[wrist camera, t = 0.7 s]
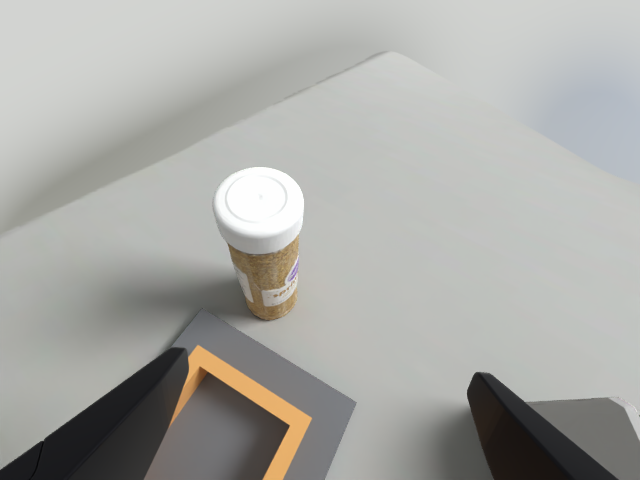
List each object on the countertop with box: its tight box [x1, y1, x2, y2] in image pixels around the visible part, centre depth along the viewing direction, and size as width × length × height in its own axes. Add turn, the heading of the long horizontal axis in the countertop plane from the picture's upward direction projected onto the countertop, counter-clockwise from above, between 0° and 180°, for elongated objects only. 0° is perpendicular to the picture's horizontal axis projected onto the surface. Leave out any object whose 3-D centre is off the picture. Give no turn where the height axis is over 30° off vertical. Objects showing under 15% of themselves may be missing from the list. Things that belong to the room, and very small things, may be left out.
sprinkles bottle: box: [213, 167, 304, 320], centre depth 20 cm, size 5×5×14 cm
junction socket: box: [144, 308, 357, 480], centre depth 19 cm, size 14×14×3 cm
